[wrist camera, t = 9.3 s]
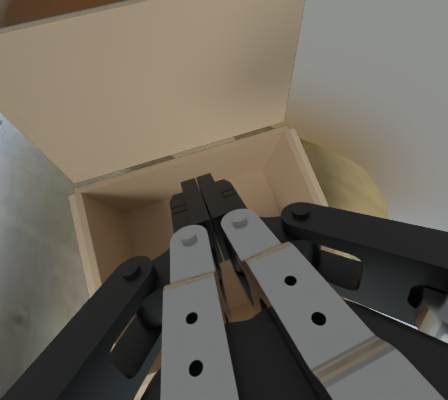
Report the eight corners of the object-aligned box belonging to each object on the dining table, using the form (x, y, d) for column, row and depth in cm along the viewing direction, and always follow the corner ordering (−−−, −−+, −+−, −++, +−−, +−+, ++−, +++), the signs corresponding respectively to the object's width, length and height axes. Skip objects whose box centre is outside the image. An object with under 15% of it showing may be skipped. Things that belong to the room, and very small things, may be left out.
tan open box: (316, 286, 33) (371, 303, 22) (151, 348, 31) (112, 406, 19) (268, 164, 37) (292, 123, 25) (116, 212, 35) (66, 190, 23)
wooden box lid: (311, -36, 15) (306, -40, 15) (-67, 48, 12) (-63, 41, 13) (283, 121, 25) (280, 117, 25) (74, 183, 23) (74, 177, 23)
